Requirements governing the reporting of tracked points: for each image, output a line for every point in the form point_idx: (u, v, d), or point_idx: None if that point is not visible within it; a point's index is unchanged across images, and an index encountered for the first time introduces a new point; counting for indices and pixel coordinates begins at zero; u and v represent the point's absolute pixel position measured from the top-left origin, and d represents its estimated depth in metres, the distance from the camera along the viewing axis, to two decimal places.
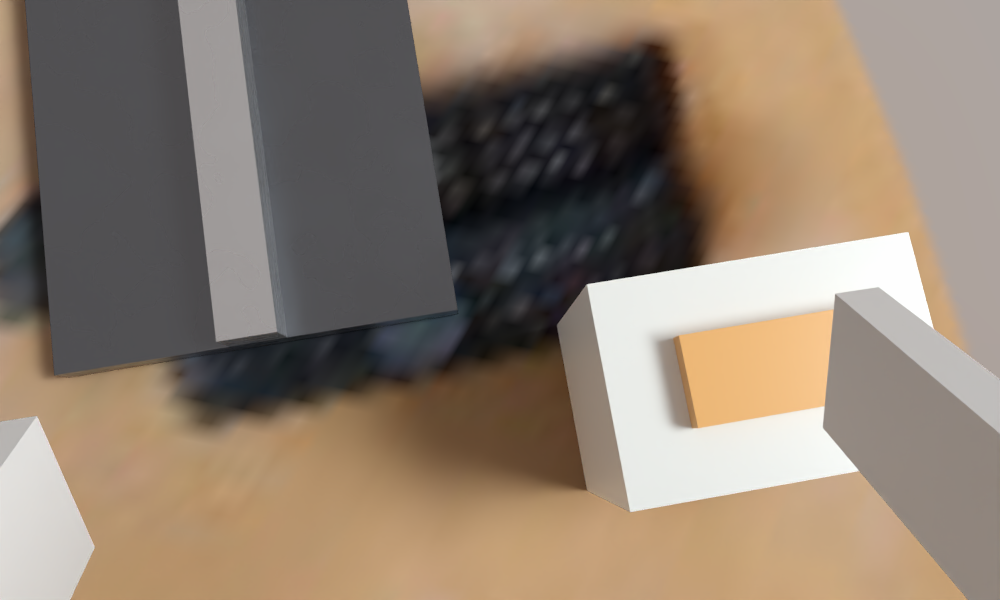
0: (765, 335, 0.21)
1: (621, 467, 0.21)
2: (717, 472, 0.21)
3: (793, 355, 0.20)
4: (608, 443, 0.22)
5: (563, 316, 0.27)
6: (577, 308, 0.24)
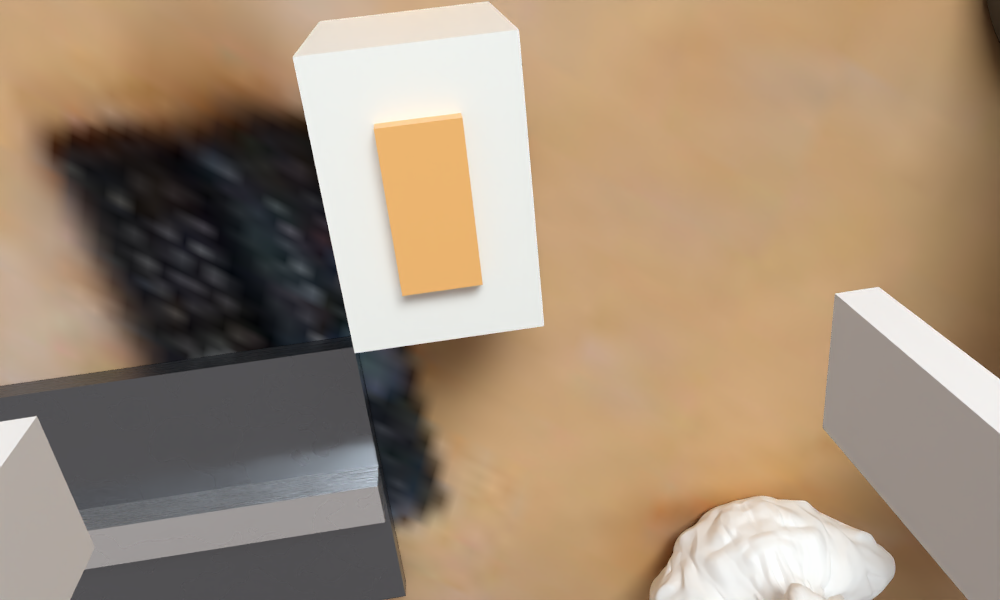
0: (403, 224, 0.22)
1: (508, 329, 0.25)
2: (519, 258, 0.24)
3: (421, 200, 0.22)
4: None
5: None
6: None
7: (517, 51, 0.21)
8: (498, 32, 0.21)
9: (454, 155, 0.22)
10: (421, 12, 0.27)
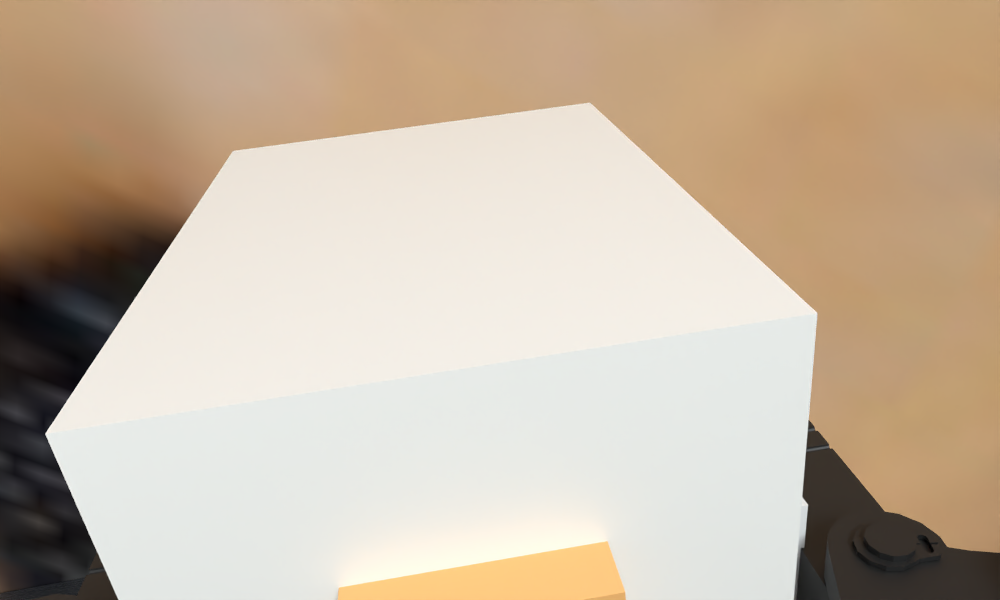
0: None
1: None
2: None
3: None
4: None
5: None
6: None
7: (801, 373, 0.07)
8: (749, 324, 0.06)
9: None
10: (453, 137, 0.12)
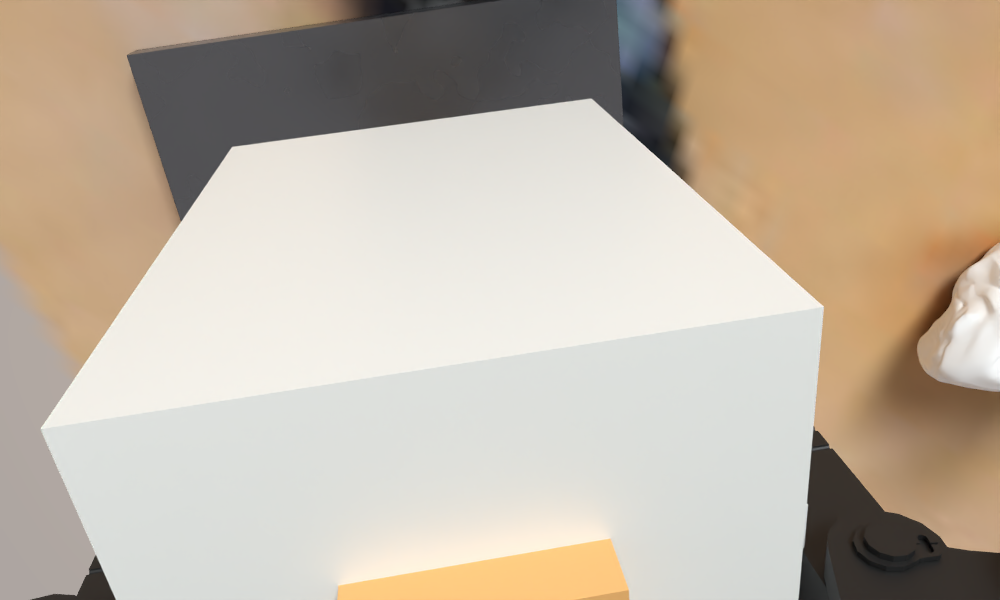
0: None
1: None
2: None
3: None
4: None
5: None
6: None
7: (807, 368, 0.06)
8: (755, 318, 0.06)
9: None
10: (453, 133, 0.12)
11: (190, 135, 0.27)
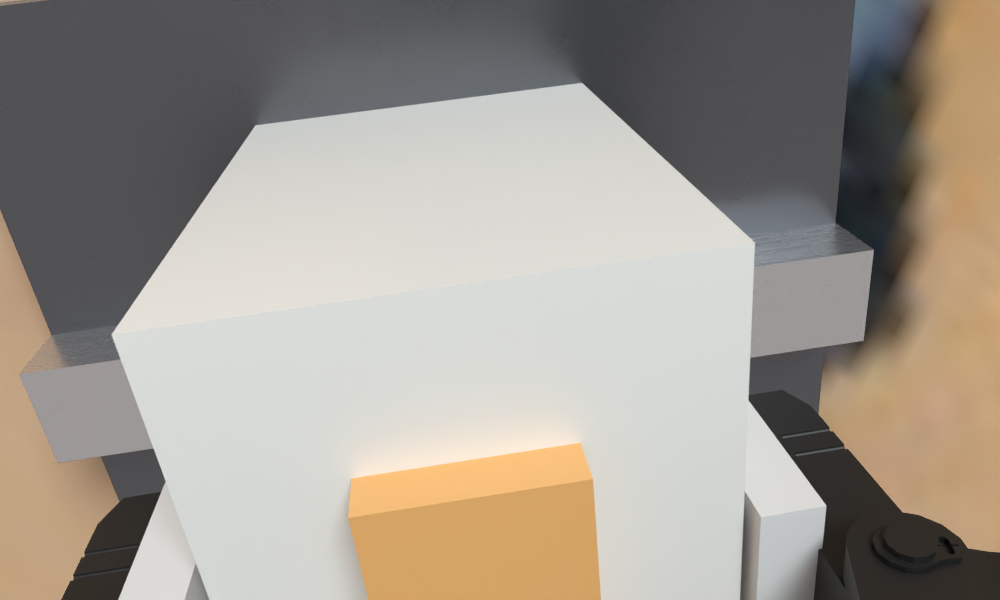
0: None
1: None
2: None
3: None
4: None
5: None
6: None
7: (743, 296, 0.08)
8: (698, 251, 0.07)
9: (564, 561, 0.08)
10: (455, 112, 0.14)
11: (56, 171, 0.14)
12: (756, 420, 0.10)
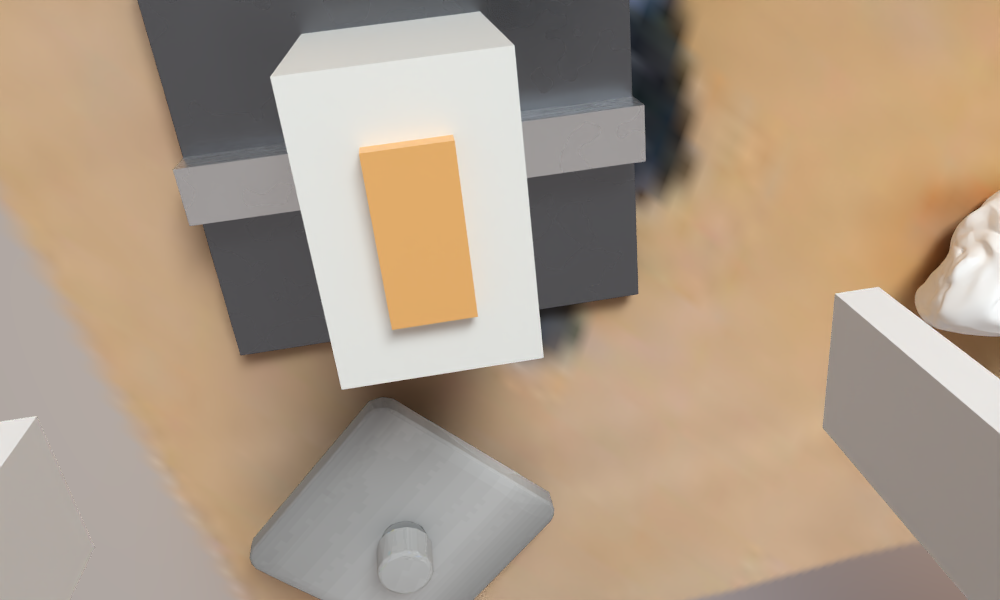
0: (391, 254, 0.21)
1: (505, 362, 0.24)
2: (516, 287, 0.22)
3: (412, 229, 0.21)
4: None
5: None
6: None
7: (513, 68, 0.20)
8: (492, 48, 0.20)
9: (446, 181, 0.20)
10: (409, 24, 0.26)
11: (193, 59, 0.26)
12: None
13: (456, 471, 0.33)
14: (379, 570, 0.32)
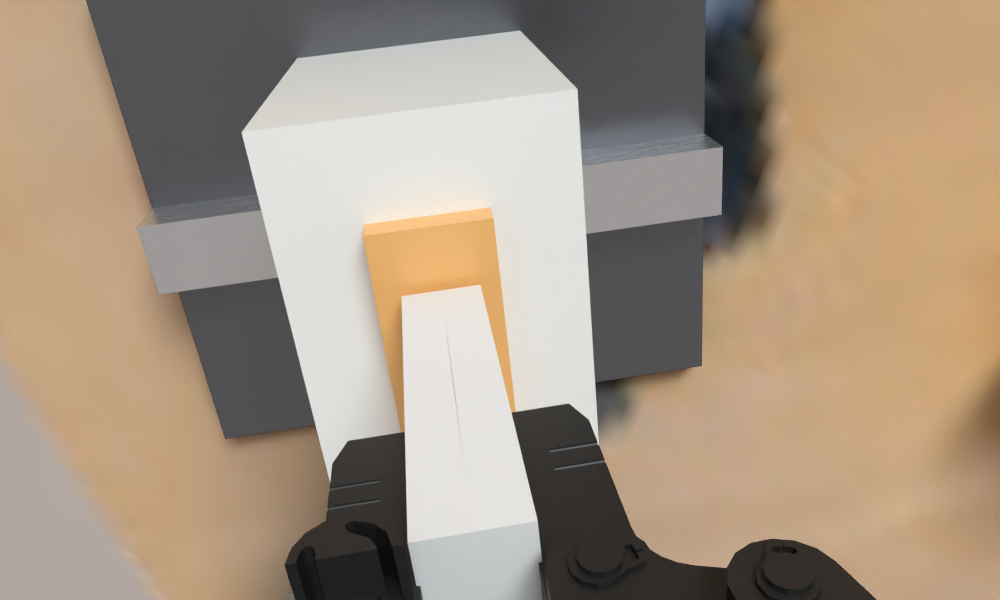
0: None
1: None
2: (569, 399, 0.17)
3: None
4: None
5: None
6: None
7: (574, 120, 0.15)
8: (547, 93, 0.14)
9: (481, 270, 0.15)
10: (431, 47, 0.20)
11: (162, 89, 0.21)
12: (511, 435, 0.11)
13: None
14: None
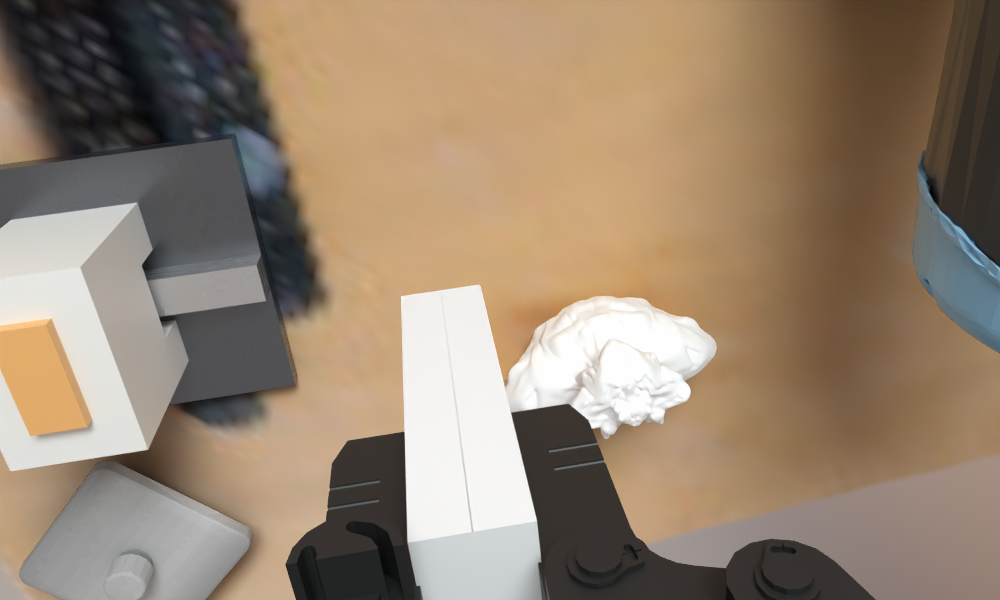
0: (19, 390, 0.33)
1: (123, 452, 0.36)
2: (117, 406, 0.34)
3: (29, 376, 0.33)
4: None
5: None
6: None
7: (82, 280, 0.32)
8: (66, 269, 0.32)
9: (46, 348, 0.32)
10: (79, 216, 0.38)
11: None
12: (510, 435, 0.11)
13: (166, 513, 0.45)
14: (104, 586, 0.44)
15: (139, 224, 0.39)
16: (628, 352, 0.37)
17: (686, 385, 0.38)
